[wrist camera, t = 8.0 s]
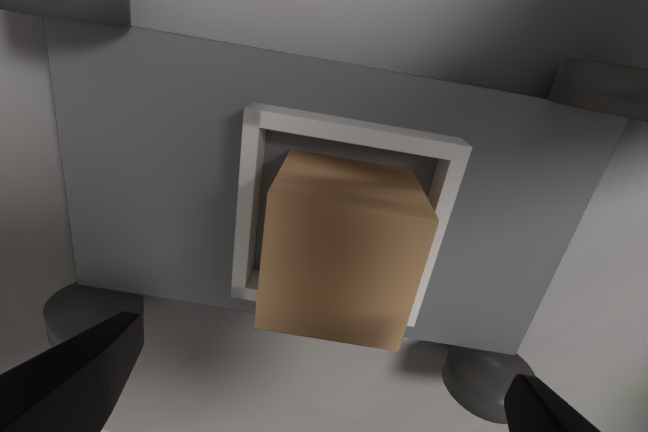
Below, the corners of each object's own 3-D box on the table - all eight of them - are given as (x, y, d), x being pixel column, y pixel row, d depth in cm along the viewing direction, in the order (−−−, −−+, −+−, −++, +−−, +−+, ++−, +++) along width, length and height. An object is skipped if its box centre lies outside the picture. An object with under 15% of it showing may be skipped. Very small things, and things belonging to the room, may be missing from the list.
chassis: (644, 75, 15) (743, 85, 11) (507, 362, 21) (541, 430, 17) (42, -31, 14) (-62, -57, 11) (83, 293, 20) (25, 348, 17)
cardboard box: (412, 169, 16) (439, 220, 11) (384, 272, 18) (398, 351, 13) (290, 149, 16) (267, 192, 11) (277, 254, 18) (253, 328, 13)
